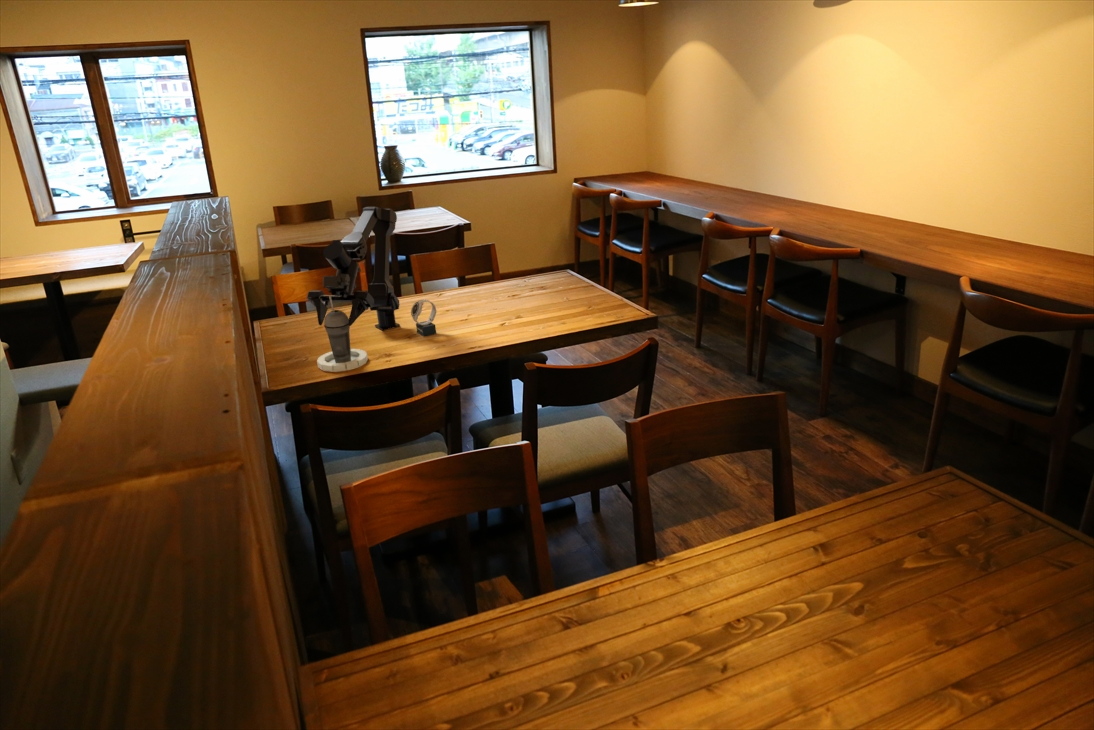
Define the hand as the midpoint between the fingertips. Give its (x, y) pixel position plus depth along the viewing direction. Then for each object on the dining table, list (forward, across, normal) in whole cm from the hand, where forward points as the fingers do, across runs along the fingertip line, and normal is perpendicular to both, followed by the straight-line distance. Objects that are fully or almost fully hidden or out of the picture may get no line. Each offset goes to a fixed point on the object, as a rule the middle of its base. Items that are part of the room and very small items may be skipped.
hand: (334, 325), depth 212 cm
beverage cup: (+7, 0, +10) cm, 12 cm away
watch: (-12, +16, +29) cm, 35 cm away
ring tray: (+8, 0, +10) cm, 12 cm away
